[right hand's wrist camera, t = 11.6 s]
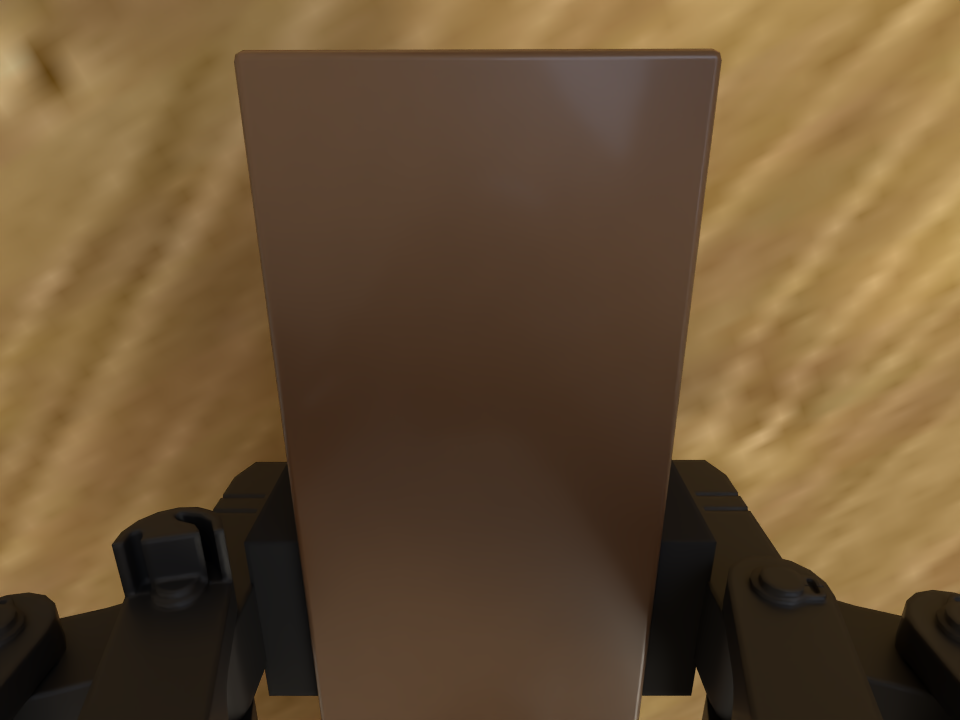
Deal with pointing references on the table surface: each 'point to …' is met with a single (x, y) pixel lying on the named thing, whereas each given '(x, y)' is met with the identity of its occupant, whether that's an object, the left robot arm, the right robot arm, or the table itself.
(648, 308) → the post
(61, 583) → the table surface
